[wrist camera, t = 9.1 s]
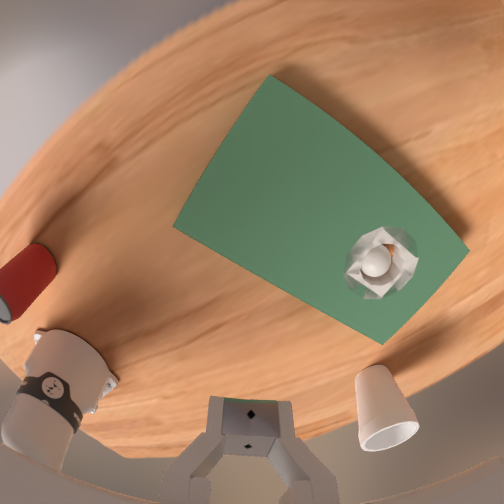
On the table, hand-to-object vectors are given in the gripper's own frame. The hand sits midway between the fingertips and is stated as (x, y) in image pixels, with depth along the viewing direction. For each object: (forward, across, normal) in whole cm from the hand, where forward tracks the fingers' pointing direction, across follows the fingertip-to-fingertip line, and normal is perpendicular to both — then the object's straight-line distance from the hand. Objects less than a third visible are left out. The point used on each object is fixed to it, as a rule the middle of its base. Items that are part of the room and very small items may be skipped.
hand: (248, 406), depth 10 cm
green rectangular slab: (+24, -11, +1) cm, 27 cm away
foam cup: (+25, -25, +27) cm, 44 cm away
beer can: (+26, +30, +12) cm, 41 cm away
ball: (+22, -15, +4) cm, 27 cm away
